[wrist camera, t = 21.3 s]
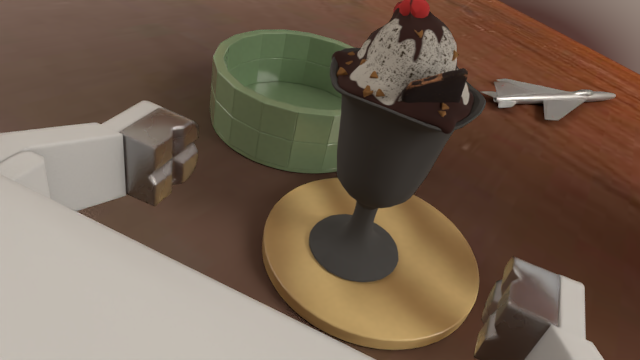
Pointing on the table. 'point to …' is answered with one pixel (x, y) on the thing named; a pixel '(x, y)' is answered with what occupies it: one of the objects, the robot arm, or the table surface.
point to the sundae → (390, 132)
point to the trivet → (377, 296)
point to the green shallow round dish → (278, 99)
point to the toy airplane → (543, 97)
